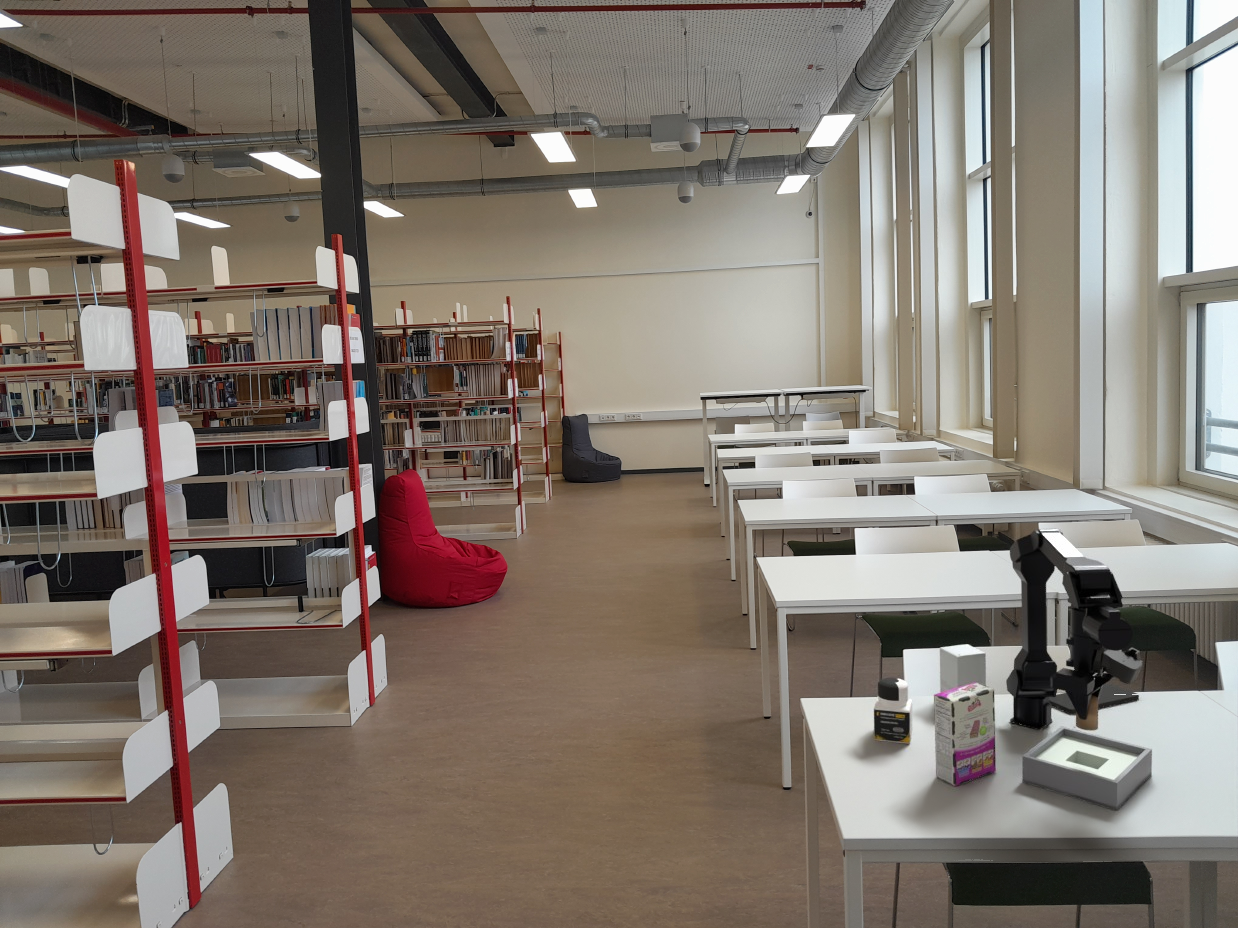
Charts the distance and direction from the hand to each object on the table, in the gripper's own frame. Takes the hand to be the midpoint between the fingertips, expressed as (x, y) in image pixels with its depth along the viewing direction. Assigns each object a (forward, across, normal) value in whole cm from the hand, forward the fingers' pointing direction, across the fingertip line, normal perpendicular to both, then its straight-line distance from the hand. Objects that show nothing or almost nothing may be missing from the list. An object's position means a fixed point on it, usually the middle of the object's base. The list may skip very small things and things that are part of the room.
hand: (1087, 715), depth 163 cm
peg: (+2, 0, 0) cm, 2 cm away
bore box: (+12, 0, 0) cm, 12 cm away
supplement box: (+12, +20, +33) cm, 41 cm away
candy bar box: (+12, -13, +17) cm, 25 cm away
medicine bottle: (+12, -6, +36) cm, 38 cm away
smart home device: (+13, +39, +13) cm, 43 cm away
